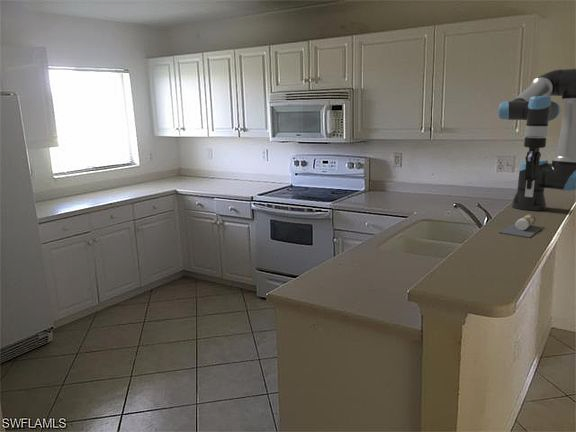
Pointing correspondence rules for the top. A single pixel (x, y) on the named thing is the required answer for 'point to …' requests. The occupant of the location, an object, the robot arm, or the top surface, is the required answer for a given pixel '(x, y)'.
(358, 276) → the top surface
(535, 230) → the mat
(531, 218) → the sprinkles bottle
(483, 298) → the top surface
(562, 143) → the robot arm
